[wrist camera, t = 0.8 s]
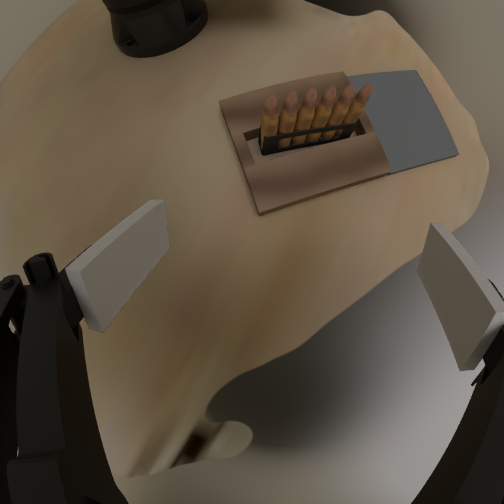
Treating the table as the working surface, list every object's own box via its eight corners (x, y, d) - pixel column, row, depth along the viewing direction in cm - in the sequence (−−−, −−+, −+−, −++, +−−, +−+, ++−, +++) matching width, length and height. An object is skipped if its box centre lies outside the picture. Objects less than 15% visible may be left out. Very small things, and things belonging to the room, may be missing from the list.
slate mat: (342, 81, 31) (343, 77, 30) (413, 73, 31) (416, 70, 30) (387, 175, 31) (390, 173, 30) (455, 156, 31) (459, 154, 30)
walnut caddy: (221, 110, 32) (218, 101, 29) (338, 81, 31) (343, 71, 29) (259, 215, 32) (259, 212, 29) (383, 176, 31) (392, 170, 29)
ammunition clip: (262, 155, 32) (262, 105, 20) (258, 141, 32) (256, 87, 20) (347, 140, 31) (384, 91, 19) (342, 127, 31) (376, 74, 19)
